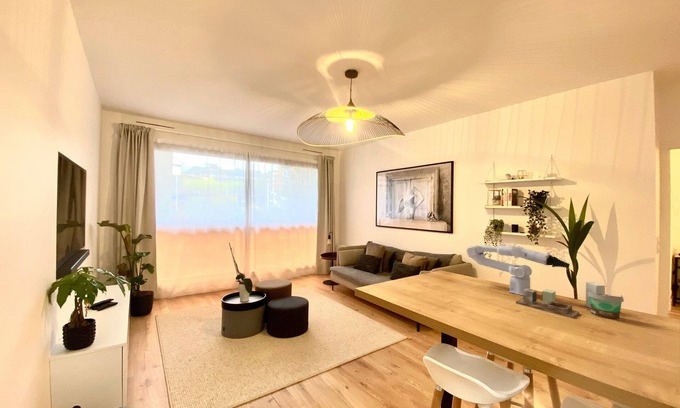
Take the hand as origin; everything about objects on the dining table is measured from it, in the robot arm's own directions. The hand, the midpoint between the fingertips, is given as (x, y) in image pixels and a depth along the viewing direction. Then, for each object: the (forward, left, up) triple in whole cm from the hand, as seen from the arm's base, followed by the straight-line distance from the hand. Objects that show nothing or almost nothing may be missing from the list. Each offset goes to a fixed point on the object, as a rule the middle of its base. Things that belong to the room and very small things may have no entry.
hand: (567, 265), depth 141 cm
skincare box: (+10, +4, -20) cm, 23 cm away
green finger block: (-6, -5, -20) cm, 21 cm away
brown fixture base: (-4, -16, -20) cm, 26 cm away
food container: (+16, -6, -20) cm, 26 cm away
